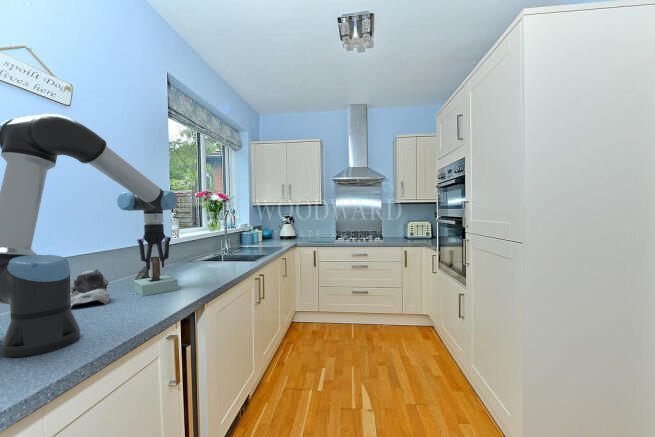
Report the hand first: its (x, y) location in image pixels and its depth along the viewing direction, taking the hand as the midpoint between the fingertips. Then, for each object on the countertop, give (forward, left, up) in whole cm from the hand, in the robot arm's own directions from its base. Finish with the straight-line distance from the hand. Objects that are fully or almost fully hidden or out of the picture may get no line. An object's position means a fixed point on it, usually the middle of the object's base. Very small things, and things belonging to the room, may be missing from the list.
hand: (155, 275), depth 135 cm
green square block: (0, 0, -6) cm, 6 cm away
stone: (-24, -4, -7) cm, 25 cm away
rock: (-1, +15, -7) cm, 16 cm away
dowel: (0, 0, -6) cm, 6 cm away
